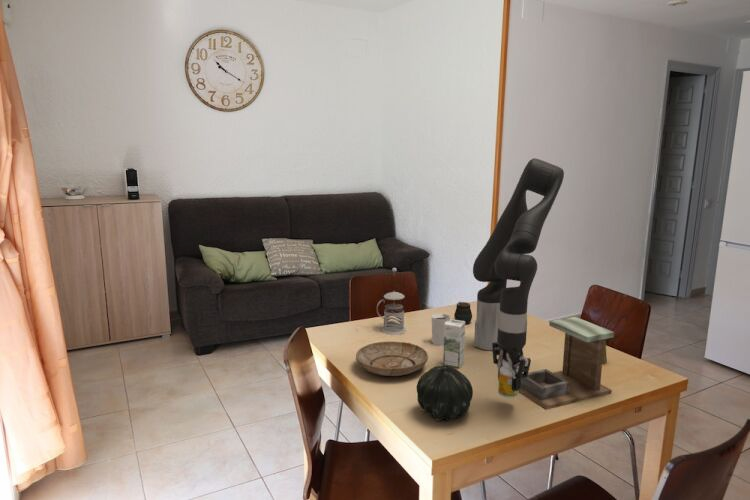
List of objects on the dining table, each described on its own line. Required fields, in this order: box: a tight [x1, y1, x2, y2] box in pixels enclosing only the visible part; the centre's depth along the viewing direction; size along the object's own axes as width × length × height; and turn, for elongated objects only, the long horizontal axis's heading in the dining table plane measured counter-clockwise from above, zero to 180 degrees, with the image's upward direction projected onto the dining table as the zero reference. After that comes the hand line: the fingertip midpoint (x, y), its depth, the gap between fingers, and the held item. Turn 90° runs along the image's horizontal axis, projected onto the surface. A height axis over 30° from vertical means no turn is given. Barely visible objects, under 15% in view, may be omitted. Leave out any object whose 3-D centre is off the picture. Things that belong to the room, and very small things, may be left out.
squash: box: [416, 365, 474, 421], centre depth 139 cm, size 14×15×15 cm
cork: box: [602, 339, 608, 365], centre depth 174 cm, size 6×6×11 cm
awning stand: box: [519, 316, 615, 410], centre depth 153 cm, size 24×16×18 cm, turn 113°
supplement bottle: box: [497, 359, 520, 399], centre depth 143 cm, size 5×5×10 cm
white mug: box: [431, 313, 451, 347], centre depth 190 cm, size 7×7×10 cm
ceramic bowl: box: [355, 341, 429, 377], centre depth 169 cm, size 23×24×5 cm
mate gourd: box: [454, 301, 473, 325], centre depth 212 cm, size 7×8×10 cm
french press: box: [376, 267, 407, 336], centre depth 202 cm, size 10×12×25 cm
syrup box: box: [442, 318, 466, 369], centre depth 171 cm, size 6×6×14 cm
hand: (508, 385), depth 143 cm, fingers closed on supplement bottle, 5 cm apart
